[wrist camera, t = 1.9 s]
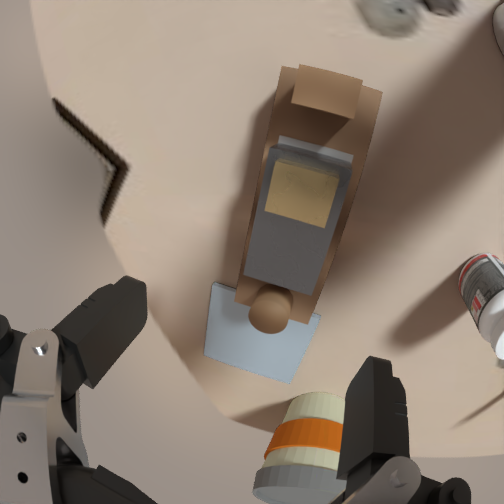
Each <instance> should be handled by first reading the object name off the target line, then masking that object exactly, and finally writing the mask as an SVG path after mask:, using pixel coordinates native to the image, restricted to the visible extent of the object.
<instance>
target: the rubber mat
mask: <svg viewBox="0 0 504 504" xmlns="http://www.w3.org/2000/svg"><path fill="white" fill-rule="evenodd" d="M235 294H236V289H234V288H231V287H228V286H225V285H222V284H219V283H216V282H214V283H213V285H212V291H211V299H210V307H209V315H208V323H207V331H206V340H205V348H204V356H207V357H209V358H212V359H215V360H217V361H220V362H223V363H226V364H228V365H231V366H234V367H237V368H240V369H243V370H246V371H249V372H252V373H255V374H258V375H261V376H264V377H268V378H271V379H274V380H277V381H281V382H284V383H288V384H290V382H291V380H292V378H293V376H294V374H295V372H296V370H297V368H298V366H299V364H300V362H301V360H302V358H303V356H304V354H305V351H306V349H307V347H308V345H309V343H310V341H311V338H312V336H313V334H314V332H315V330H316V327H317V325H318V323H319V320H320V317H321V315H318V314H314V313H312V316H311V318H310V321H309V323H308V325H307V324H303V323H300V322H297V321H294V320H290V319H289V320H288V324H287V326H286V328H285V329H284V330H283V331H281V332H279V333H276V334H266V333H263V332H260V331H258V330H257V329H255V328H254V327H253V326H252V324H251V323H250V321H249V318H248V313H249V310H250V308H251V307H249V306H246V305H243V304H240V303H237V302H234V299H235Z"/></svg>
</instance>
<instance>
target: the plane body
mask: <svg viewBox="0 0 504 504" xmlns="http://www.w3.org/2000/svg"><path fill="white" fill-rule="evenodd" d="M362 82H363V80H360V79H357V78H354V77H350V76H347V75H343V74H339V73H335V72H331V71H327V70H323V69H319V68H315V67H310V66H305V65H301V64H299V69H295V68H290V67H285V66H282V67H281V72H280V77H279V82H278V86H277V91H276V96H275V101H274V105H273V110H272V115H271V120H270V125H269V130H268V134H267V139H266V144H265V149H264V154H263V159H262V164H261V169H260V173H259V178H258V183H257V188H256V193H255V198H254V203H253V208H252V213H251V218H250V223H249V228H248V233H247V238H246V243H245V248H244V253H243V259H242V264H241V269H240V274H239V279H238V284H237V289H236V294H235V299H234V302H237V303H240V304H243V305H246V306H249V307H251V308H250V310H249V313H248V318H249V321H250V323H251V324H252V326H253V327H254V328H255V329H257V330H258V331H260V332H263V333H266V334H276V333H279V332H281V331H283V330H284V329H285V328H286V326H287V324H288V320H289V319H290V320H294V321H297V322H300V323H303V324H307V325H308V323H309V321H310V318H311V316H312V313H313V311H314V309H315V306H316V304H317V301H318V299H319V296H320V293H321V291H322V288H323V286H324V283H325V280H326V278H327V275H328V272H329V270H330V267H331V264H332V262H333V259H334V256H335V253H336V250H337V248H338V245H339V242H340V239H341V236H342V233H343V230H344V227H345V224H346V221H347V218H348V215H349V212H350V209H351V206H352V203H353V200H354V197H355V193H356V190H357V187H358V184H359V180H360V177H361V173H362V170H363V167H364V163H365V160H366V156H367V152H368V149H369V145H370V141H371V138H372V134H373V130H374V126H375V122H376V118H377V114H378V110H379V106H380V101H381V97H382V93H383V92H381V91H378V90H375V89H372V88H369V87H366V86H363V85H362ZM278 143H283V144H287V145H291V146H295V147H299V148H303V149H306V150H310V151H314V152H317V153H321V154H324V155H328V156H331V157H335V158H338V159H341V160H345V161H348V162H350V163H351V166H352V169H353V172H352V175H351V179H350V182H349V185H348V189H347V192H346V195H345V199H344V202H343V205H342V208H341V212H340V215H339V218H338V221H337V224H336V227H335V230H334V233H333V236H332V239H331V242H330V245H329V248H328V251H327V254H326V257H325V260H324V263H323V265H322V268H321V271H320V274H319V277H318V279H317V282H316V285H315V288H314V290H313V293H312V296H310V295H307V294H304V293H300V292H297V291H294V290H290V289H287V288H284V287H281V286H277V285H274V284H271V283H268V282H265V281H261V280H258V279H255V278H252V277H249V276H246V275H243V273H244V268H245V264H246V259H247V254H248V249H249V244H250V239H251V234H252V229H253V225H254V220H255V215H256V210H257V205H258V200H259V196H260V191H261V186H262V181H263V176H264V171H265V167H266V162H267V157H268V152H269V148H270V147H271V146H273V145H276V144H278Z"/></svg>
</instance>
